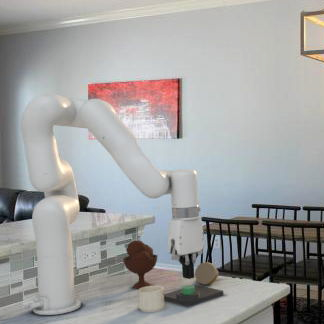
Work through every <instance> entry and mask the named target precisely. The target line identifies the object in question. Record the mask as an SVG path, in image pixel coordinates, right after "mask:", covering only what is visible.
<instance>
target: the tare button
mask: <svg viewBox="0 0 324 324" xmlns="http://www.w3.org/2000/svg"><path fill="white" fill-rule="evenodd" d="M181 289H182V294H183V295H191V294H195V288H194V285H192V284H188V285H182V286H181Z"/></svg>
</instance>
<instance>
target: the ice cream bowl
mask: <svg viewBox="0 0 324 324" xmlns="http://www.w3.org/2000/svg"><path fill="white" fill-rule="evenodd" d="M125 251H126V253H127V256H124V257H123V258H122V259H123V260H122V261H123V264H124V266H125V269H127V270H128V271H129V272H131V273H133V274H136V275H137V276H138V281H137V282H136V283H135V284H133V287H132V289H135V290H139V289H140V288H142V287H146V286H151V284H150V283H149V282H147V281H145V275H146V274H147V273H149V272H150V271H152V270H153V269H154V268H155V266H156V265H157V262H158V256H159V255H158V254H155V253H154V249H153V248H152V247H151V246H150V245H148V244H147V243H144V242H143V241H142V240H133V241H130V242H129V243H128V244H127V247H126V249H125Z"/></svg>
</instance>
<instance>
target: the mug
mask: <svg viewBox="0 0 324 324" xmlns="http://www.w3.org/2000/svg"><path fill="white" fill-rule="evenodd" d="M218 277H219V270H218V269H217V267H216V266H215V264H214V263H212V262H208V261H204V262H202V263H200V264H199V265H197V266H196V268H195V269H194V278H195V279H196V281H197V283H199V284H201V285H204V286H207V285H212V284H214V282H215V281H216V280H217V278H218Z"/></svg>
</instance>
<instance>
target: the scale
mask: <svg viewBox="0 0 324 324" xmlns="http://www.w3.org/2000/svg"><path fill="white" fill-rule="evenodd" d="M193 286H194V288H195V294H191V295H183V294H182V288H180V289H176V290H173V291H169V292H166V293H164V302H167V303H173V304H176V305H180V306H184V307H191V306H195V305H198V304H200V303H204V302H207V301H210V300H213V299H216V298H219V297H222V296H224V290H221V289H216V288H213V287H207V286H205V285H204V286H203V285H198V284H193Z"/></svg>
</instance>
